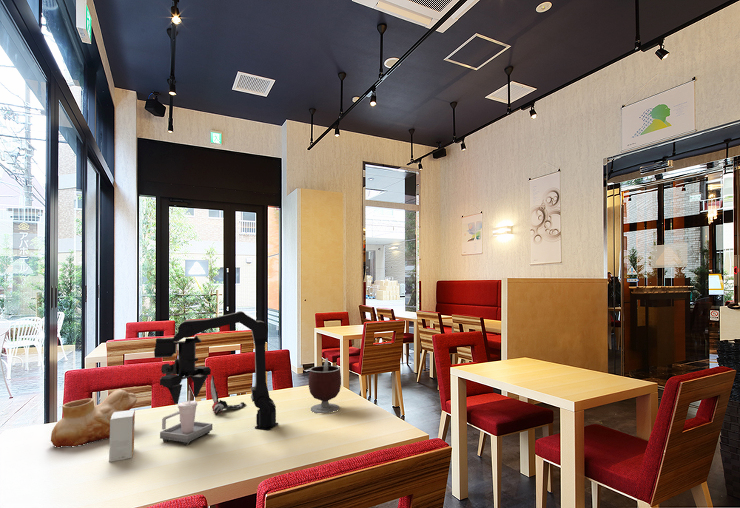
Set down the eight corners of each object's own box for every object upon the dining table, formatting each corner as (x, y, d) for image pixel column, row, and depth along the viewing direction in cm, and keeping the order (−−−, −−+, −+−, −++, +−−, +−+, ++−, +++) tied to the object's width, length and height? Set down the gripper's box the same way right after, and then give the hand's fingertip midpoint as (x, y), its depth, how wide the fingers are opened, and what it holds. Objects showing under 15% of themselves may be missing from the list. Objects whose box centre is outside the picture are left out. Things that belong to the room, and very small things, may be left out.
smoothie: (189, 435, 141) (190, 393, 142) (173, 433, 142) (173, 393, 143) (201, 428, 147) (201, 388, 148) (185, 427, 149) (185, 388, 150)
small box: (132, 458, 129) (133, 416, 129) (108, 462, 126) (109, 419, 127) (134, 448, 136) (135, 409, 137) (112, 452, 133) (112, 411, 134)
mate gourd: (339, 414, 167) (339, 365, 169) (306, 414, 168) (305, 365, 169) (342, 402, 183) (342, 357, 184) (312, 403, 183) (311, 358, 184)
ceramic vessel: (142, 431, 152) (143, 390, 153) (54, 453, 133) (56, 406, 134) (129, 422, 162) (130, 384, 163) (46, 442, 143) (48, 398, 143)
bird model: (224, 436, 173) (240, 408, 186) (241, 423, 167) (257, 395, 180) (185, 408, 169) (204, 381, 182) (201, 393, 163) (220, 367, 176)
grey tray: (212, 433, 148) (212, 411, 149) (187, 446, 137) (187, 422, 138) (184, 429, 153) (184, 408, 153) (157, 441, 141) (158, 418, 142)
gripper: (188, 350, 158) (187, 391, 157) (147, 359, 140) (146, 405, 140) (212, 351, 154) (211, 393, 153) (173, 361, 137) (172, 408, 136)
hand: (186, 400), depth 146 cm, fingers open, 9 cm apart
